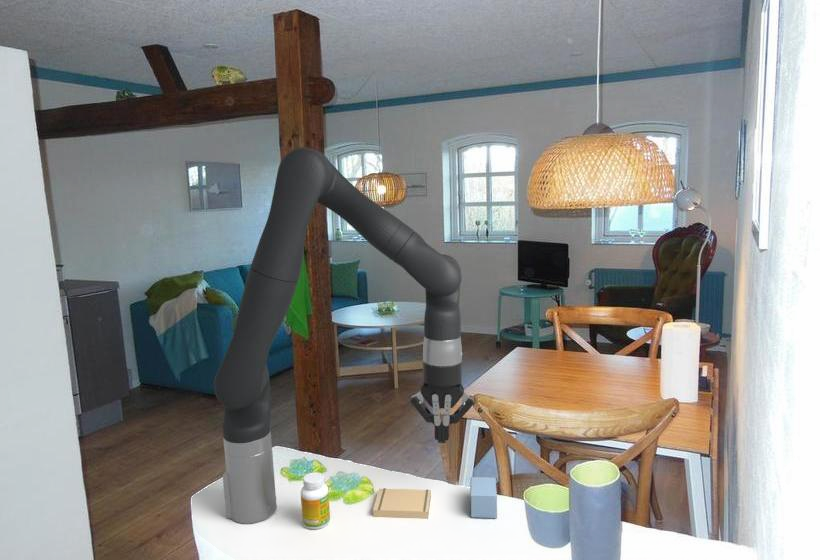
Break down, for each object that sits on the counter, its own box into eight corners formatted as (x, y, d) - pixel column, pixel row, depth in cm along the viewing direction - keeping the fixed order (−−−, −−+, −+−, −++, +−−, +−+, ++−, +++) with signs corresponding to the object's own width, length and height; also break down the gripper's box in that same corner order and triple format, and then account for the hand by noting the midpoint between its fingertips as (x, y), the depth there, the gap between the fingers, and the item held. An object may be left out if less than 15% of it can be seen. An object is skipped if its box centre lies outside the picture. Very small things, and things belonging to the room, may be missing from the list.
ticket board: (373, 516, 119) (373, 509, 119) (379, 494, 127) (379, 488, 126) (428, 518, 118) (427, 511, 117) (430, 496, 126) (430, 489, 125)
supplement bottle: (324, 531, 115) (322, 485, 113) (298, 529, 116) (295, 483, 114) (333, 515, 120) (331, 471, 118) (308, 513, 121) (305, 469, 119)
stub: (470, 517, 117) (470, 495, 116) (470, 497, 124) (470, 477, 123) (496, 518, 117) (496, 496, 116) (495, 498, 124) (495, 477, 123)
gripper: (406, 363, 112) (406, 448, 115) (476, 365, 111) (475, 451, 114) (410, 351, 120) (411, 431, 123) (476, 353, 118) (475, 434, 121)
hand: (442, 441), depth 118 cm, fingers closed
